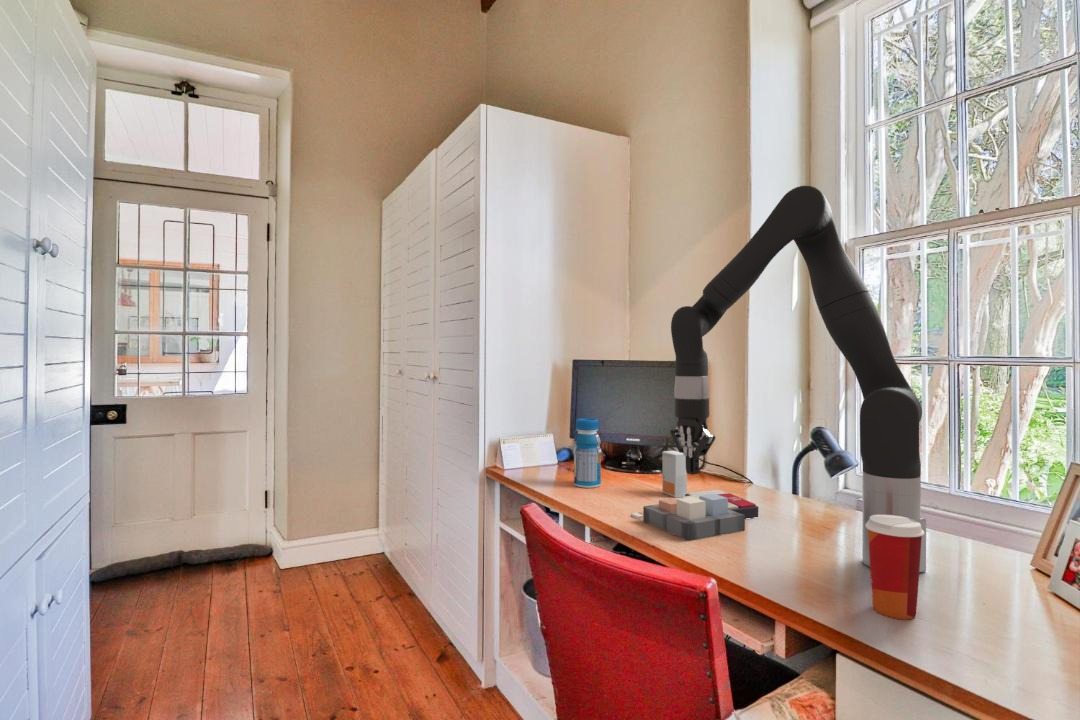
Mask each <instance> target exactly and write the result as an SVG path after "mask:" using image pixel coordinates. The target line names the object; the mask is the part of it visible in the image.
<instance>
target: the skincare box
mask: <svg viewBox="0 0 1080 720" xmlns="http://www.w3.org/2000/svg"><path fill="white" fill-rule="evenodd" d="M661 453H662V462H661V463H662V469H661V470H662V473H661V474H662V476H661V478H662V481H661V483H662V487H661V488H662V494H665V495H668V496H671V497H672V498H675V499H678V498H681V497H684V496H685V494H688V473H687V472H686V457H685V456H684V454H683V453H680V452H679V451H677V450H664V451H662V452H661Z"/></svg>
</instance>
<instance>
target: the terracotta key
mask: <svg viewBox="0 0 1080 720" xmlns="http://www.w3.org/2000/svg"><path fill="white" fill-rule="evenodd" d="M677 499H678V498H675V497H671V498H663V499H659V500H658V504H659V509H662V510H665V511H667V512H670V513H673V512H677Z"/></svg>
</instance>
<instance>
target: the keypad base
mask: <svg viewBox="0 0 1080 720" xmlns="http://www.w3.org/2000/svg"><path fill="white" fill-rule="evenodd" d="M642 512H643V518H642V519H643V522H644V523H646V524H649V525H651V526H654V527H656V528H658V529H660V530H662V531H665V532H667V533H669V534H671V535H675V536H677V537H678V538H681V539H683V540H686V541H688V542H690V541H691V542H692V541H696V540H701V539H706V537H707V538H710V537H711V536H712V537H718V536H721V535H722V534H723V535H728V534H732V533H733V532H734V533H738V532H744V530H746V524H745V523H746V519H745V515H744V514H741V513H738V512H735V511H732V510H729V509H728V514H725V515H719V516H710V515H707V514H706V518H701V519H695V520H688V519H685V518H683V517H680V516H677V512H673V513H670V512H667V511H665V510H662V509H659V503H657V504H651V505H644V506H643V511H642ZM727 533H728V534H727ZM717 535H718V536H717ZM712 537H711V538H712Z"/></svg>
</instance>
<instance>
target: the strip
mask: <svg viewBox="0 0 1080 720" xmlns="http://www.w3.org/2000/svg"><path fill="white" fill-rule="evenodd" d="M630 515H631V517H633V518H634V519H637V520H640V519H643V511H637V512H633V513H632V512H631V514H630Z"/></svg>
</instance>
